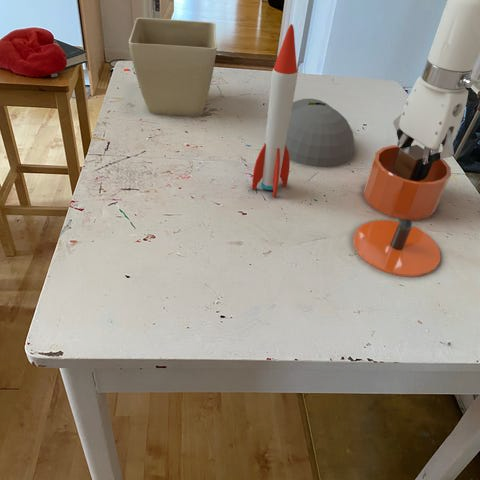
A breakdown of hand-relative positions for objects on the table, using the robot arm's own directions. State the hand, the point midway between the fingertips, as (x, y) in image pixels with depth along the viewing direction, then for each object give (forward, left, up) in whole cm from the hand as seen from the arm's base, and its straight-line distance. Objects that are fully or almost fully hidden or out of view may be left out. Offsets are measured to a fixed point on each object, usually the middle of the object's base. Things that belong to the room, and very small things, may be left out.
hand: (409, 172), depth 93 cm
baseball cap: (+2, -28, -7) cm, 29 cm away
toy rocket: (+23, -14, -7) cm, 28 cm away
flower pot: (+24, -57, -7) cm, 62 cm away
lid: (+12, +12, -6) cm, 18 cm away
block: (0, 0, 0) cm, 0 cm away
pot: (0, 0, -7) cm, 7 cm away
